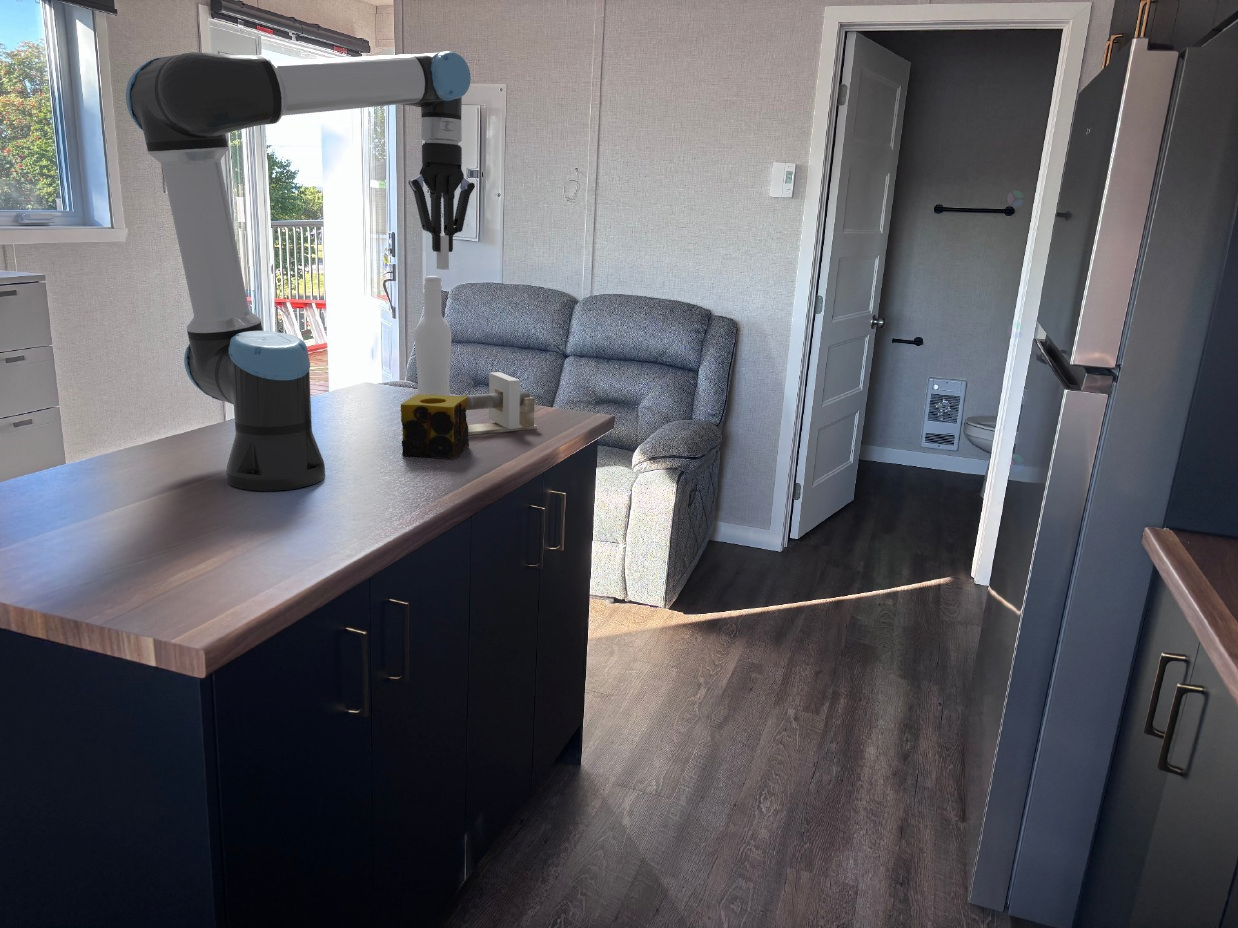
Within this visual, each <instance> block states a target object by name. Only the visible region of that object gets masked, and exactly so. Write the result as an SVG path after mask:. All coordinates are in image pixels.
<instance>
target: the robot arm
mask: <svg viewBox="0 0 1238 928" xmlns="http://www.w3.org/2000/svg"><path fill="white" fill-rule="evenodd" d="M471 80H472V79H471V70H470V67H469V65H468V62H467V61H466V60H465V59H464V57H463V56H461V55H460V54H459V53H457V52H455V51H443V50H442V51H438V52H432V53H430V52H429V53H417V54H416V53H415V54H396V55H395V54H394V55H370V56H355V57H339V58H337V57H336V58H316V59H315V58H314V59H301V60H299V59H297V60H282V61H281V60H279V61H271V60H270V59H269V58H268V57H267V56H266V55H263V54H246V55H245V54H241V55H240V54H224V53H215V52H199V51H193V52H191V51H190V52H184V53H181V54H174V55H168V56H163V57H161V56H160V57H155V58H153V59H150V60H148V61H146V62H145V63H143V64H141V65H140V66H139V67H138V68H137V69H135V70H134V72H133V73H132V74H131V76H130V77H129V79H128V81H127V85H126V89H125V103H126V107H127V110H128V111H127V112H128V113H129V115H130V118H131V119H132V121H133V122H134V123H135V124H136V126H137V127H138V128H139V129H140V130H141V131H143V135H144V141H145V144H146V151H147V153H148V155H150V156H151V157H152V158H154V159H155V160H156V161H158V162H159V164H160V165H161V168H162V173H163V176H164V182H165V186H166V191H167V196H168V200H169V201H168V202H169V206H170V209H171V215H172V218H173V219H172V220H173V224H174V229H175V234H176V238H177V242H178V248H179V252H180V256H181V261H182V266H183V270H184V276H185V280H186V285H187V289H188V294H189V299H190V303H191V307H192V312H193V318H192V319H191V321H190V322H189V323H188V324H187V326H186V332H187V336H188V342H189V344H188V345H187V347H186V349H185V352H184V359H183V361H184V362H183V363H184V369H185V371H186V374H187V377H188V378H189V380H190V382H191V383H192V384H193V385H194V386H195V388H197V389H198V390H200V391H201V392H203V394H205V395H206V396H208V397H211V398H212V399H213V400H217V401H221V402H226V403H228V404H231V405H233V415H234V426H235V436H234V439H233V443H232V446H231V449H230V450H231V451H230V454H229V457H228V461H227V465H226V471H225V472H226V482H227V484H228V485H229V486H232V487H234V488H236V489H237V488H238V489H242V490H245V491H247V490H248V491H259V492H273V491H274V492H275V491H276V492H277V491H287V490H296V489H301V488H305V487H309V486H313V485H314V484H317V483H320V482H322V481H323V480H324V479H325V477H326V468H325V467H326V465H325V461H324V459H323V456H322V453H321V451H320V448H319V446H318V443H317V441H316V438H315V435H314V433H313V428H312V427H313V424H312V402H311V401H312V400H311V399H312V398H311V377H310V376H311V375H310V371H311V370H310V369H311V360H310V358H309V351H308V350H309V349H308V347H307V344H306V342H305V341H304V340H302V339H301V338H299V337H298V336H295V335H293V334H290V333H285V332H277V331H270V330H264V329H263V325H262V319H261V318H260V317H259V316H257V315H256V314H255V313H254V312H252V311H251V310H250V308H249V303H248V297H247V292H246V286H245V281H244V278H243V272H242V265H241V261H240V255H239V250H238V243H237V239H236V234H235V229H234V225H233V219H232V214H231V208H230V203H229V199H228V193H227V187H226V183H225V178H224V174H223V173H224V172H223V167H222V162H221V161H222V158H224V156H225V155H226V153H227V152H228V150H229V146H228V139H227V134H230V133H234V132H237V131H241V130H245V129H249V128H253V127H258V126H264V125H273V124H277V123H279V121H280V120H281V119H282V117H284V116H291V115H292V116H293V115H294V116H295V115H303V114H314V113H324V112H333V111H343V110H355V109H364V108H375V107H382V106H383V107H385V106H395V105H401V106H411V107H412V106H413V107H415V108H420V113H421V114H420V116H421V140H422V141H424V143H422V145H421V169H420V171H419V175H418V176H416V177H414V179H413V178H412V179H409V180H408V186H409V187H410V189H411V190H412V192H413V194H414V198H415V204H416V207H417V212H418V216H419V220H420V225H421V229H422V230H423V231H424V232H427V233H429V234H431V249H432V252H436V269H437V270H444V271H445V270H447V271H448V270H450V267H449V266H450V259H449V258H450V256H449V255H450V254H449V253H452V252H453V250H454V236H455V234H458V233H462V232H463V228H464V224H465V220H466V215H467V212H468V211H467V210H468V205H469V203H470V201H469V200H470V198H471V197H470V196H471V194H472V193H473V191H474V190H475V187H476V184H475V183H474V182H470V181H469V180H467V179H466V178H465V175H464V172H463V169H462V164H463V162H462V159H463V150H462V146H461V145H459V144H460V143H461V142H462V135H463V132H462V129H463V127H462V121H463V120H462V106H463V105H462V101H463V100H462V99H463V97H464V96H465V95H466V93H468V91H469V89H470V86H471ZM424 184H425V186H426V188H427V189H428V191H429V198H430V212H429V207H428V204H427V199H426V195H425V194H426V193H425V191H424ZM458 188H460V192H459V196H458V199H457V205H456V209H455V208H454V205H455V203H454V201H455V196H456V195H455V194H456V193H455V192H456V191H457V189H458ZM442 201H443V202H442ZM442 203H443V213H442ZM454 209H455V210H454ZM442 214H443V218H442ZM442 219H443V234H442Z"/></svg>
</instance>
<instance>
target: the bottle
mask: <svg viewBox="0 0 1238 928" xmlns="http://www.w3.org/2000/svg"><path fill="white" fill-rule="evenodd" d="M442 289H443V288H442V277H440V276H438V275H427V276H425V277H424V283H423V290H424V292H423V293H424V295H423V297H424V301H423V304H424V305H423V307H424V308H423V316H422V318H421V319H419V321H418V323H417V325H416V326H415V330H414V334H413V335H414V337H413V338H414V350H415V361H416V362H415V363H416V364H415V365H416V376H417V390H416V394H415V395H417V394H425V395H445V396H452V394H451V391H450V375H451V359H452V358H451V356H452V353H451V352H452V330H451V327H450V325H449V323H448V321H446V319H445V318H444V316H443V313H442Z"/></svg>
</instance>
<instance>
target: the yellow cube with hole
mask: <svg viewBox="0 0 1238 928" xmlns="http://www.w3.org/2000/svg"><path fill="white" fill-rule="evenodd" d="M416 394H417V393H416ZM416 394H414V396H411V397H410V398H408V399H406V400H405V401H403V402H401V403H400V422H401V425H402V429H401V430H402V434H401V435H402V439H401V446H402V447H401V448H402V454H401V456H403V457H409V458H410V457H412V458H413V457H414V458H424V459H425V458H427V459H441V460H455V459H456V458H458V457H459V456H460V455H461V454H463V453H464V451H465V450H466V449H468V448H469V446H470V443H469V442H470V440H469V436H470V435H468V425H469V424H468V422H467V411H468V410H467V401H468V397H467V396H464V395H451V396H445V395H425V394H417V395H416Z"/></svg>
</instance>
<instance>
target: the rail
mask: <svg viewBox="0 0 1238 928" xmlns="http://www.w3.org/2000/svg"><path fill="white" fill-rule="evenodd" d="M463 396H467V397H468V401H467V411H472V410H474V411H475V410H485V409H486V410H489V408H500V409H501V408H503V392H499V393H494V394H489V393H481V394H467V395H466V394H465V395H463ZM535 399H536V398H535V397H533V396H531V395H530V393H529V391H525V390H524V391H520V413H519V428H515V429H507V428H506V427H504V426H502V425H500V424H498V423H496V422H486V423H475V424H468V436H472V435H482V434H494V433H503V432H506V433H507V432H515V431H516V432H518V431H527V430H537V429H538V425H536V424H535Z"/></svg>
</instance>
